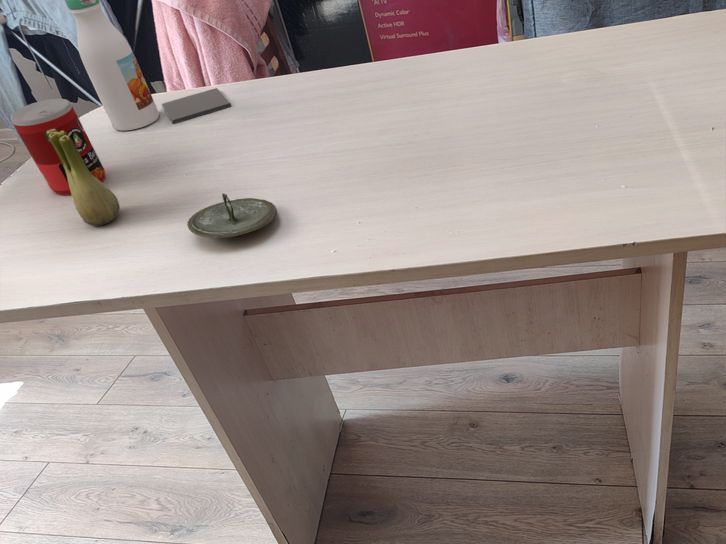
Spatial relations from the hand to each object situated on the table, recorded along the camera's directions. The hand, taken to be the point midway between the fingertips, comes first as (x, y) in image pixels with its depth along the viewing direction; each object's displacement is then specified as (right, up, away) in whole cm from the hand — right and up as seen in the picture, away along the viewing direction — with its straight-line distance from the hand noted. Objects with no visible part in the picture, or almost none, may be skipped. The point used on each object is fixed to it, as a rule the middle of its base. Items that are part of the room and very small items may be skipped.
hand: (44, 13), depth 75 cm
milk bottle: (-9, +1, +40) cm, 41 cm away
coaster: (0, +5, +42) cm, 43 cm away
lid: (+19, -23, +8) cm, 30 cm away
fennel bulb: (-1, -20, +14) cm, 25 cm away
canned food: (-10, -13, +24) cm, 29 cm away
